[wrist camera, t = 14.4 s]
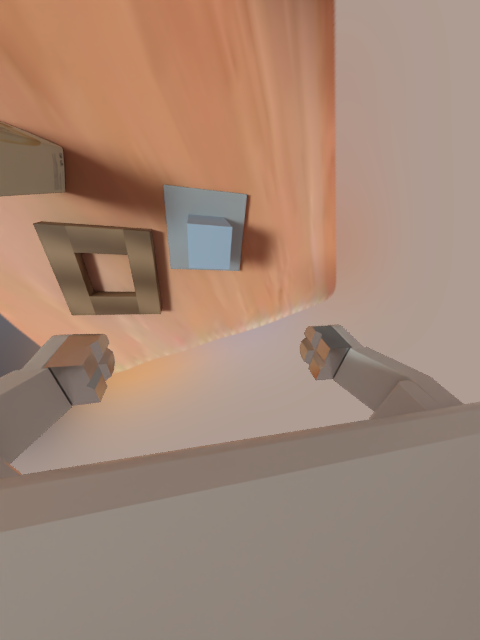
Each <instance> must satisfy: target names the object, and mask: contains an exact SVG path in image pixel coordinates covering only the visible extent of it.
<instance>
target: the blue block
mask: <svg viewBox="0 0 480 640" xmlns="http://www.w3.org/2000/svg"><path fill="white" fill-rule="evenodd" d="M187 233H188V258H189V268H198V269H229V266H230V252H231V239H232V226H231V225H230V224H229V223H228V222H227V220H226V219H225V218H224V217H214V216H202V215H191V214H188V221H187Z"/></svg>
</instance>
